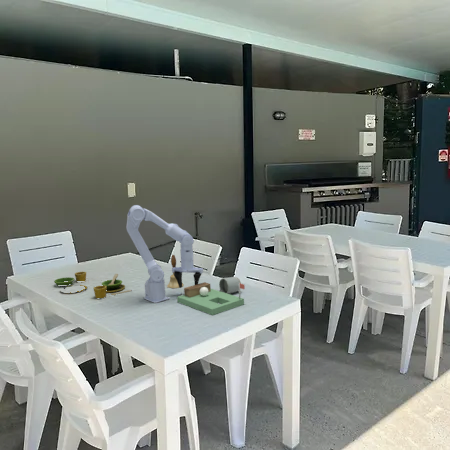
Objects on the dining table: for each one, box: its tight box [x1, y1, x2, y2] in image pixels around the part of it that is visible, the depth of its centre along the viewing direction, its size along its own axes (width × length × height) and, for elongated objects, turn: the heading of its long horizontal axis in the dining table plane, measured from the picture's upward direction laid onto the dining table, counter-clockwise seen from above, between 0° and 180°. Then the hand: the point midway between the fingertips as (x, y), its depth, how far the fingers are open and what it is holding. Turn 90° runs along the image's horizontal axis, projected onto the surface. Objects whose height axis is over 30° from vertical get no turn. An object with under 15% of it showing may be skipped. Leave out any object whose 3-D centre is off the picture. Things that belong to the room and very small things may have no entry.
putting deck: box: [176, 283, 246, 316], centre depth 192 cm, size 26×18×10 cm
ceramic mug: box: [218, 276, 242, 295], centre depth 208 cm, size 11×8×8 cm
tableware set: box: [53, 271, 132, 299], centre depth 222 cm, size 41×28×6 cm
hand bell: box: [166, 254, 184, 289], centre depth 220 cm, size 8×8×16 cm
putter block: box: [183, 281, 212, 297], centre depth 199 cm, size 4×12×4 cm, turn 132°
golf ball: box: [200, 287, 209, 296], centre depth 196 cm, size 4×4×4 cm
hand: (188, 287), depth 204 cm, fingers open, 7 cm apart
